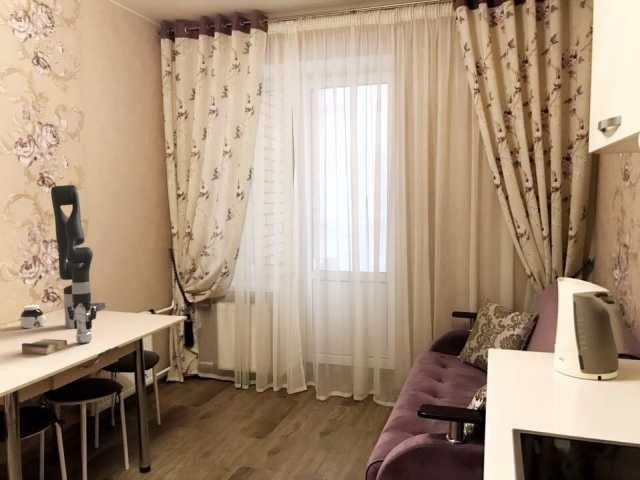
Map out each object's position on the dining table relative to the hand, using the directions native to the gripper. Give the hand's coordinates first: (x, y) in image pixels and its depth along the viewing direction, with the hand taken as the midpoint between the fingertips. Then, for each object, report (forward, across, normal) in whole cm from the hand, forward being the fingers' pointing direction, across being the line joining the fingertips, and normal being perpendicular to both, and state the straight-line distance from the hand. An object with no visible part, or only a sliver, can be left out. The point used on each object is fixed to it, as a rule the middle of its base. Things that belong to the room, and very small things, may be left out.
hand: (83, 328), depth 224 cm
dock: (+6, +9, +13) cm, 17 cm away
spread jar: (+7, +46, -22) cm, 51 cm away
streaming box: (+7, +41, -60) cm, 73 cm away
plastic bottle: (+7, 0, 0) cm, 7 cm away
